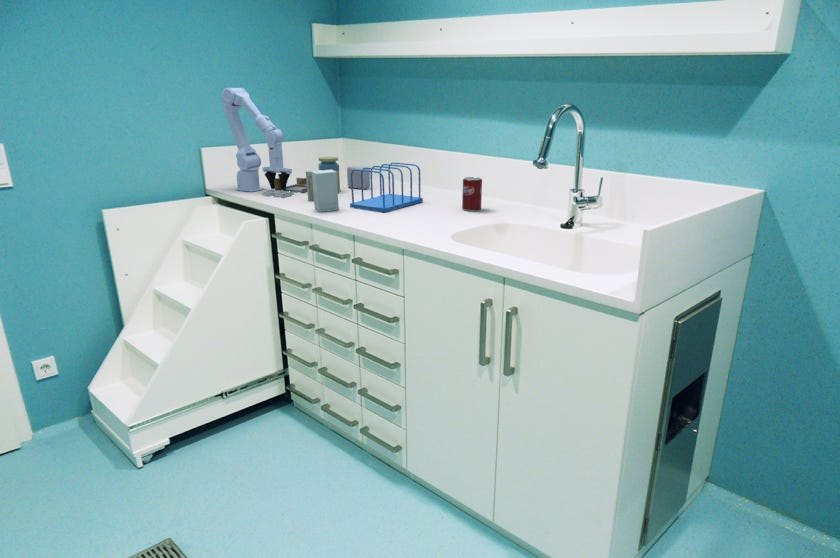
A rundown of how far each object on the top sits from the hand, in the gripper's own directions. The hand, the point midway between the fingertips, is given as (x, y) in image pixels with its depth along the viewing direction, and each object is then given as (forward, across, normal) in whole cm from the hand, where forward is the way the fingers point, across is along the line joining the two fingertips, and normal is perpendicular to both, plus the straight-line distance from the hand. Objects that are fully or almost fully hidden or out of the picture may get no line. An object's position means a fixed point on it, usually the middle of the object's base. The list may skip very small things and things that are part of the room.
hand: (278, 189), depth 258 cm
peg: (+1, 0, 0) cm, 1 cm away
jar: (+2, +20, +11) cm, 23 cm away
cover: (0, +5, +16) cm, 17 cm away
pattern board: (+1, +5, +13) cm, 14 cm away
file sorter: (+2, +56, -2) cm, 56 cm away
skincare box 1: (+2, +26, -7) cm, 26 cm away
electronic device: (+2, +26, +25) cm, 36 cm away
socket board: (+1, +4, -6) cm, 8 cm away
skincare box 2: (+2, +40, -21) cm, 46 cm away
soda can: (+2, +90, +5) cm, 90 cm away
